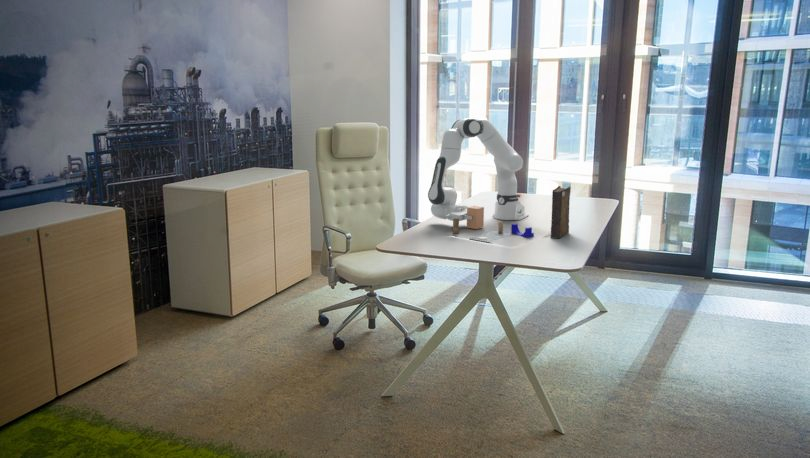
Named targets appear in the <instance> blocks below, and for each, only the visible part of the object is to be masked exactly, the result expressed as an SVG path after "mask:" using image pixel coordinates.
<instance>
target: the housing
mask: <svg viewBox="0 0 810 458" xmlns="http://www.w3.org/2000/svg"><path fill="white" fill-rule="evenodd" d="M484 214H485V207H484V206H478V205H470V206H468V207H467V215H468V216H473V219H466V228H469V229H472V230H473V229H474V230H478V229H482V228H484V223H485V222H484V219H485V218H484V217H485V215H484Z"/></svg>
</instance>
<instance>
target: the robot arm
mask: <svg viewBox="0 0 810 458" xmlns="http://www.w3.org/2000/svg"><path fill="white" fill-rule="evenodd" d="M474 137H477V138H478V139H479V141H480V142H481V144H483V146H484V147H485V149H486V150H487V151H488V153H490V155H492V156H493V162H494V165H495V170H496V171H495V172H496V176H497V177H496V178H497V194H496V202H495V205H494V211H493V212H494V213H493V214H492V217H493V218H494V219H496V220H501V221H502V220H503V221H504V220H505V221H514V220H515V221H521V220H523V219H525V218H527V217H529V214H528V213H526V212H525V210H526V209H525V205H523V203H521V201H519V198H521V196H522V195H521V194H520V193H518V180H517V177H516V174H515V173H516V172H518V171H520V170H521V169H522V168H523V166H524V160H523V158H522V156H521V155H520V154H519V153H518V152H517V151H516V150H515V149H514V148H513V147H512V146H511V145H510V144H509V142H507V141H506V139H505V138H504V137H503V136H502V134H501V133H500V132H499V130H497V128H496V127H495V125H494V124H493V123H492V122H491V121H490V120H488V118H486V117H480V118H474V117H466V118H462V119H458V120H456V121H455V122H454V123H453V124H452V126H451V127H450V128H449V129H446V131H445V132H444V134H443V137H442V141H441V149H440V154H439V157H438V158H437V160H436V163H435V165H434V170H433V174H432V175H433V176H432V180H431V184H430V187H429V190H428V192H427V198H428V200H429V202H430V203H431V206H430V211H431V214H432V215H433V216H434V217H435V218H438V219H441V220H449V221H452V222H453V218H459V222H462V221H465V220H466V221H467V219H473V216H468V215H467V207H469V206H468V205H458V204H457V205H456V203H457V199H458V194H457V190H456V189H455V188H453V187H448V186H443V184H444V179H445V175H446V171H447V170H448V169H449V168H450V167H452V166H454V165H456V164H457V163H458V162H459V161H460V158H461V153H462V143H463V141H464V139H470V138H474Z"/></svg>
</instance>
